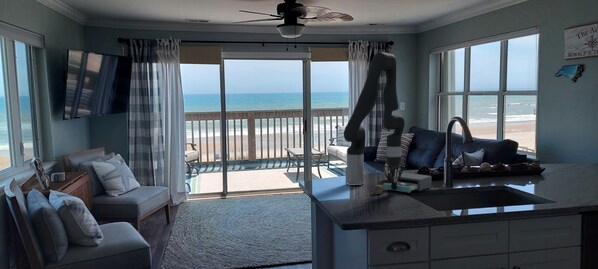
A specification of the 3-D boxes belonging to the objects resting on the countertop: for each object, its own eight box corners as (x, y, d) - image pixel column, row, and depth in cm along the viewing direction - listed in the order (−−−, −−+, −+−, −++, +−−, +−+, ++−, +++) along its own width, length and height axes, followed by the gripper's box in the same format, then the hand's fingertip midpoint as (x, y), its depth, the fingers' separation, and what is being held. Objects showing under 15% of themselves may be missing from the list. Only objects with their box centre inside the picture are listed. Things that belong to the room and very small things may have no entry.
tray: (383, 188, 216) (383, 183, 216) (395, 184, 225) (395, 179, 225) (409, 192, 206) (409, 187, 205) (421, 188, 214) (421, 183, 214)
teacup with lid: (381, 179, 245) (381, 159, 244) (395, 178, 248) (394, 158, 247) (392, 183, 233) (392, 162, 232) (406, 181, 236) (406, 161, 235)
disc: (392, 187, 215) (392, 183, 215) (399, 185, 219) (399, 181, 219) (403, 188, 210) (403, 185, 210) (410, 186, 215) (410, 183, 215)
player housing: (392, 186, 224) (392, 175, 223) (404, 183, 232) (404, 172, 232) (420, 191, 212) (420, 179, 212) (431, 187, 221) (431, 176, 220)
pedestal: (372, 193, 209) (372, 185, 209) (377, 192, 212) (377, 184, 211) (379, 194, 206) (379, 187, 206) (383, 193, 209) (383, 185, 209)
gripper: (394, 153, 216) (394, 186, 217) (379, 156, 206) (380, 190, 208) (407, 154, 210) (407, 188, 212) (392, 157, 201) (392, 192, 203)
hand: (393, 189), depth 210 cm, fingers closed
